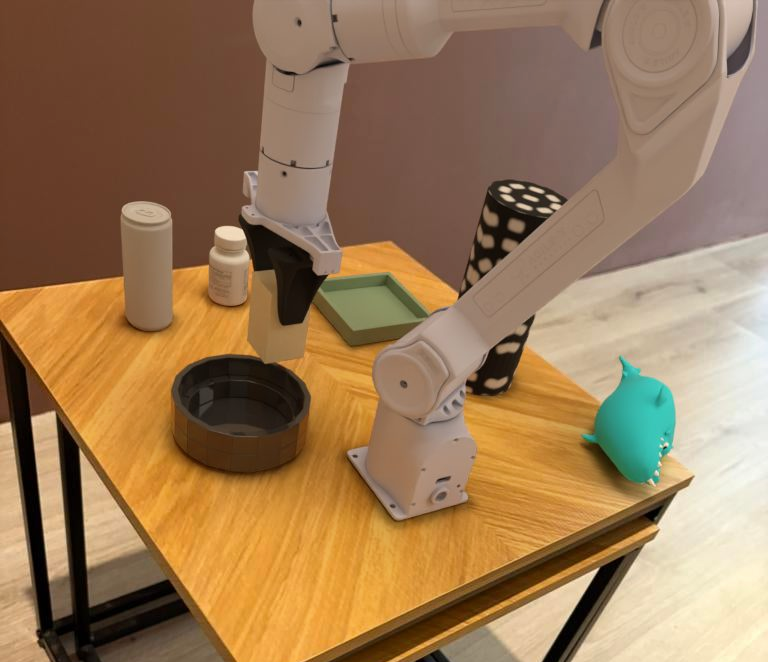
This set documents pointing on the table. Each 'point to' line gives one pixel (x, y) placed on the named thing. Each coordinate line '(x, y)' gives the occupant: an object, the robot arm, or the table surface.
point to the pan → (239, 412)
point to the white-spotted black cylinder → (490, 246)
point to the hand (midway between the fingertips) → (279, 308)
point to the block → (272, 323)
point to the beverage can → (147, 265)
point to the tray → (369, 307)
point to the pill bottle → (228, 267)
